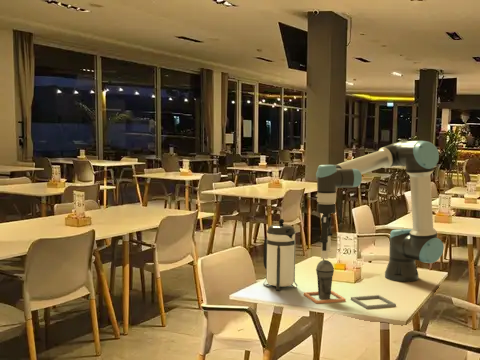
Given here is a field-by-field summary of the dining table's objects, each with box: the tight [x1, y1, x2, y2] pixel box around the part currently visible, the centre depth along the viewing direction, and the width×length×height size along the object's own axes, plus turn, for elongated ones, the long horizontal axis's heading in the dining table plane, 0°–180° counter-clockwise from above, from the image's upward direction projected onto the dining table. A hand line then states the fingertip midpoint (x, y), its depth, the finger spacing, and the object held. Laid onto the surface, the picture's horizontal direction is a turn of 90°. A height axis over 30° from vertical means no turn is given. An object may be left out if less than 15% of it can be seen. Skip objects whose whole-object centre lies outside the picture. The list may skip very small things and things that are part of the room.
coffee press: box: [263, 218, 298, 292], centre depth 246 cm, size 17×16×30 cm
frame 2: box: [350, 294, 397, 310], centre depth 223 cm, size 13×13×1 cm
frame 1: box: [303, 290, 347, 304], centre depth 229 cm, size 13×13×1 cm
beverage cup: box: [315, 259, 335, 300], centre depth 229 cm, size 7×7×20 cm
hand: (325, 255), depth 228 cm, fingers open, 13 cm apart
